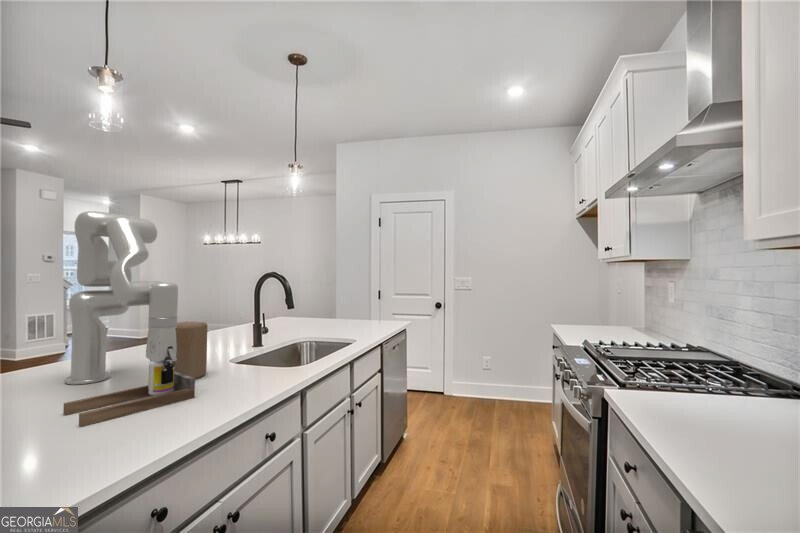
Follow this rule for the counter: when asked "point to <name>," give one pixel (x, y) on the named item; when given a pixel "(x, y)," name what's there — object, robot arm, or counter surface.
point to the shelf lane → (181, 391)
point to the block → (191, 349)
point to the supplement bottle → (158, 379)
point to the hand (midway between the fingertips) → (161, 380)
